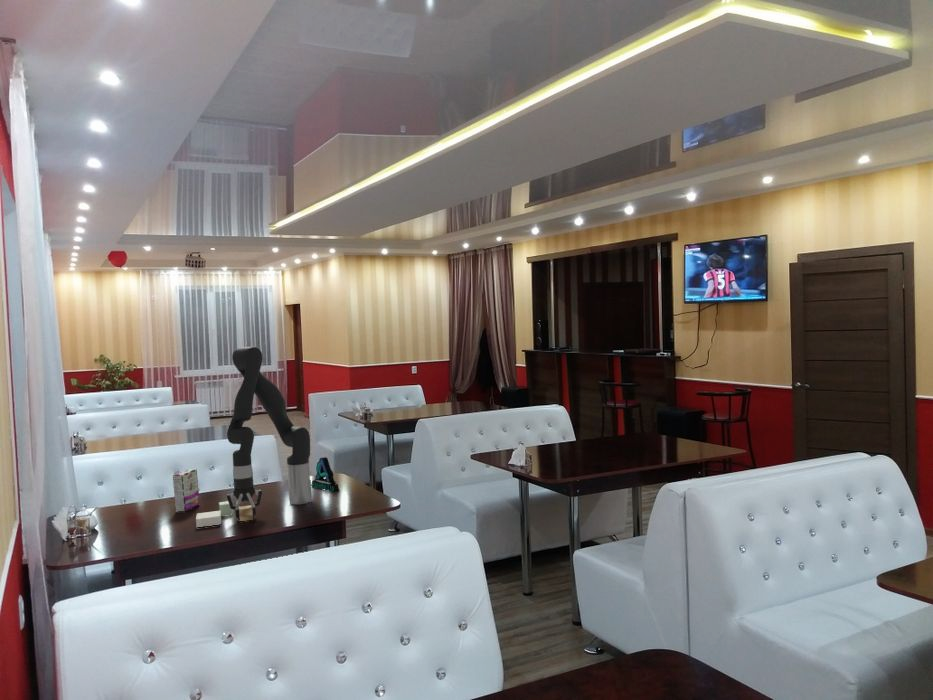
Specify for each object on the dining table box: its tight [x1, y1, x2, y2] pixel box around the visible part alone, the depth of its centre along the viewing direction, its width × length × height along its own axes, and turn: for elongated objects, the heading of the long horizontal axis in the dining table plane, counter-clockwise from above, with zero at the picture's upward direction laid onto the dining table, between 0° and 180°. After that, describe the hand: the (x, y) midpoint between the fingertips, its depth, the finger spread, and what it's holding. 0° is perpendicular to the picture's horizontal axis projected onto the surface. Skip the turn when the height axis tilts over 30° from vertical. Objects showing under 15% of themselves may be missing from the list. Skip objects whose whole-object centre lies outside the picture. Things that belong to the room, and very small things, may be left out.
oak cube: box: [239, 504, 254, 522], centre depth 285 cm, size 5×5×5 cm
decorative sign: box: [311, 456, 340, 493], centre depth 330 cm, size 19×2×15 cm, turn 46°
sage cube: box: [218, 500, 234, 517], centre depth 294 cm, size 5×5×5 cm
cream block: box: [195, 510, 222, 528], centre depth 281 cm, size 9×9×4 cm
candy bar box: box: [172, 468, 201, 513], centre depth 306 cm, size 11×5×16 cm, turn 168°
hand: (245, 517), depth 285 cm, fingers closed on oak cube, 5 cm apart
